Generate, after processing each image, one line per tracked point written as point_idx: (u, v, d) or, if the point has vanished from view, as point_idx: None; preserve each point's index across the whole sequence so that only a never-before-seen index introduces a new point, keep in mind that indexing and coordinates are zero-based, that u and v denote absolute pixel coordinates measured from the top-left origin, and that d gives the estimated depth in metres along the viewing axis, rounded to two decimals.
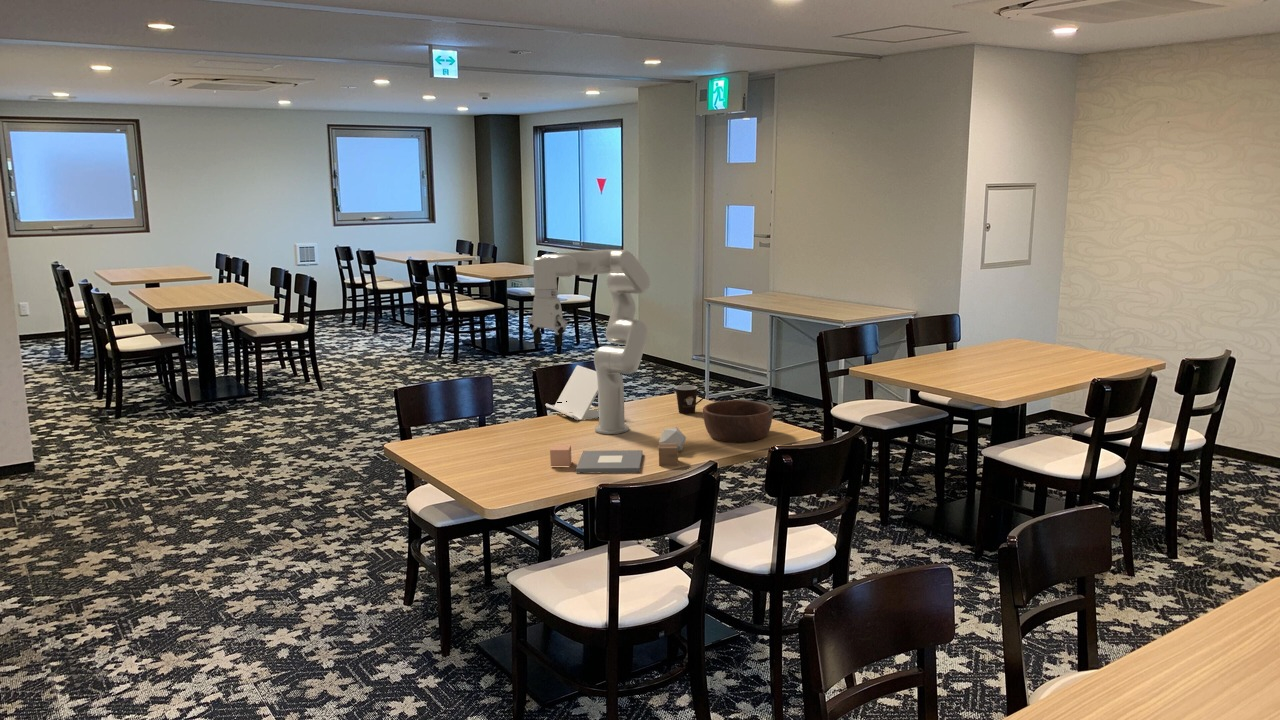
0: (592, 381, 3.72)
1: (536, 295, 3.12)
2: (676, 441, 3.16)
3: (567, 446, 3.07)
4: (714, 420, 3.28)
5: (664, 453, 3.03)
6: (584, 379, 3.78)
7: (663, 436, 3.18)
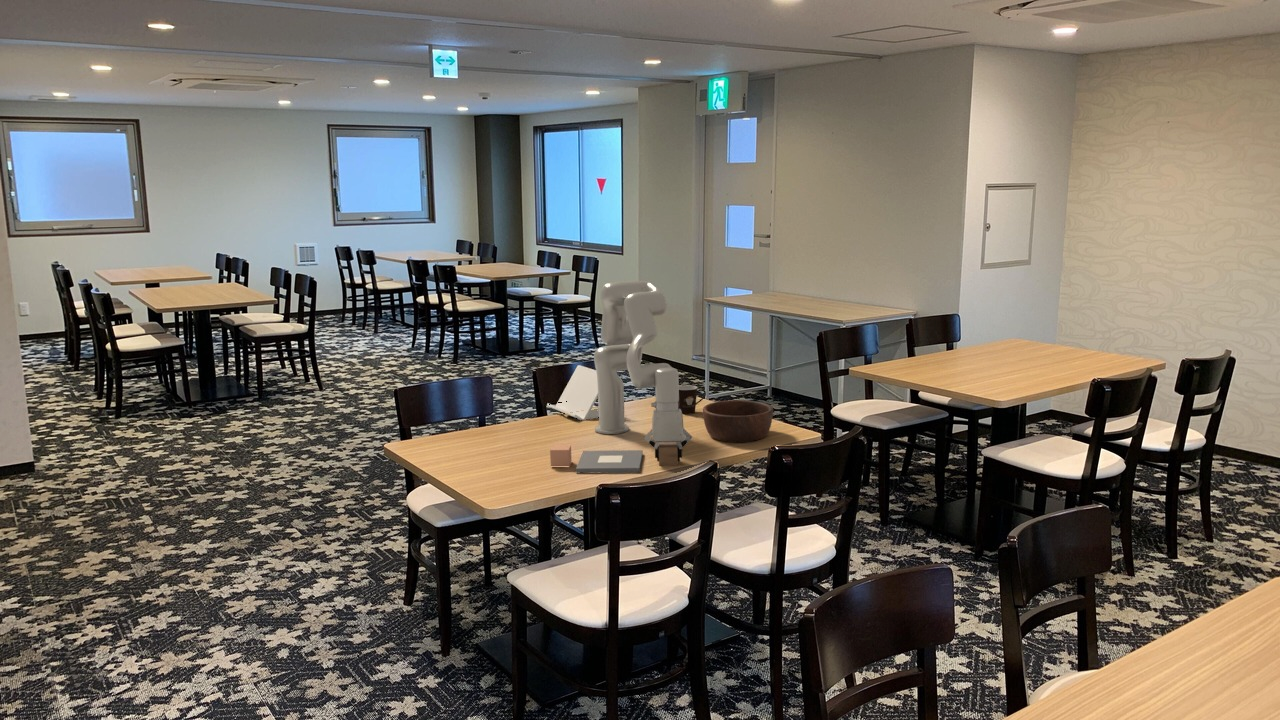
0: (594, 381, 3.73)
1: None
2: None
3: (567, 446, 3.07)
4: (714, 420, 3.28)
5: (664, 453, 3.03)
6: (586, 379, 3.78)
7: None
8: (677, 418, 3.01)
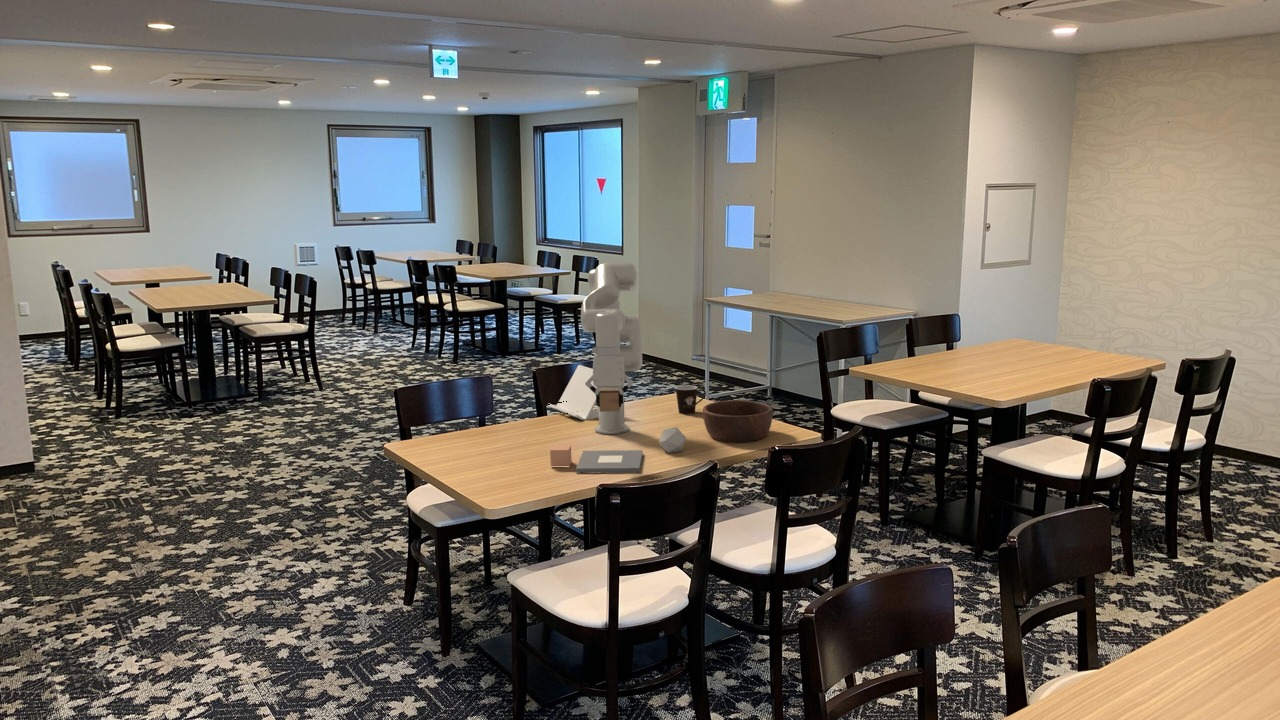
0: None
1: None
2: (676, 441, 3.16)
3: (567, 446, 3.07)
4: (714, 420, 3.28)
5: (605, 399, 3.01)
6: (587, 379, 3.78)
7: (663, 436, 3.18)
8: (618, 363, 2.99)
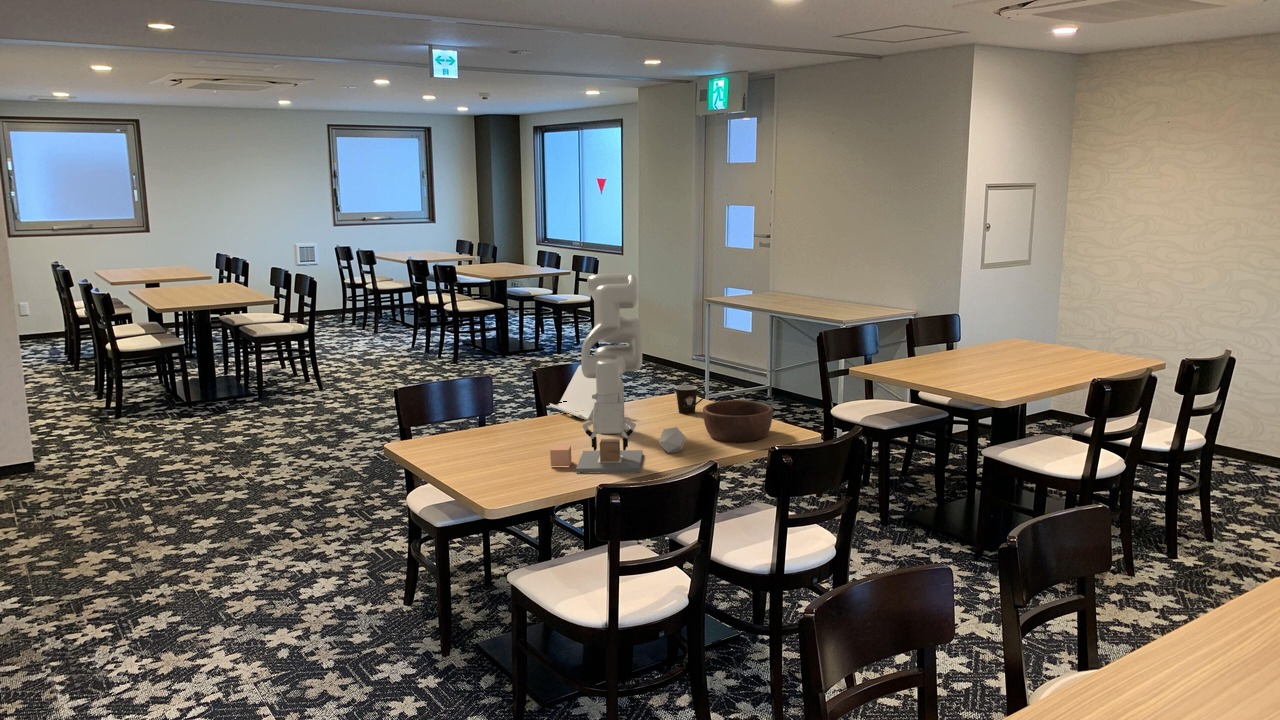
0: None
1: None
2: (676, 441, 3.16)
3: (567, 446, 3.07)
4: (714, 420, 3.28)
5: (605, 449, 3.04)
6: (588, 378, 3.79)
7: (663, 436, 3.18)
8: (617, 410, 3.02)
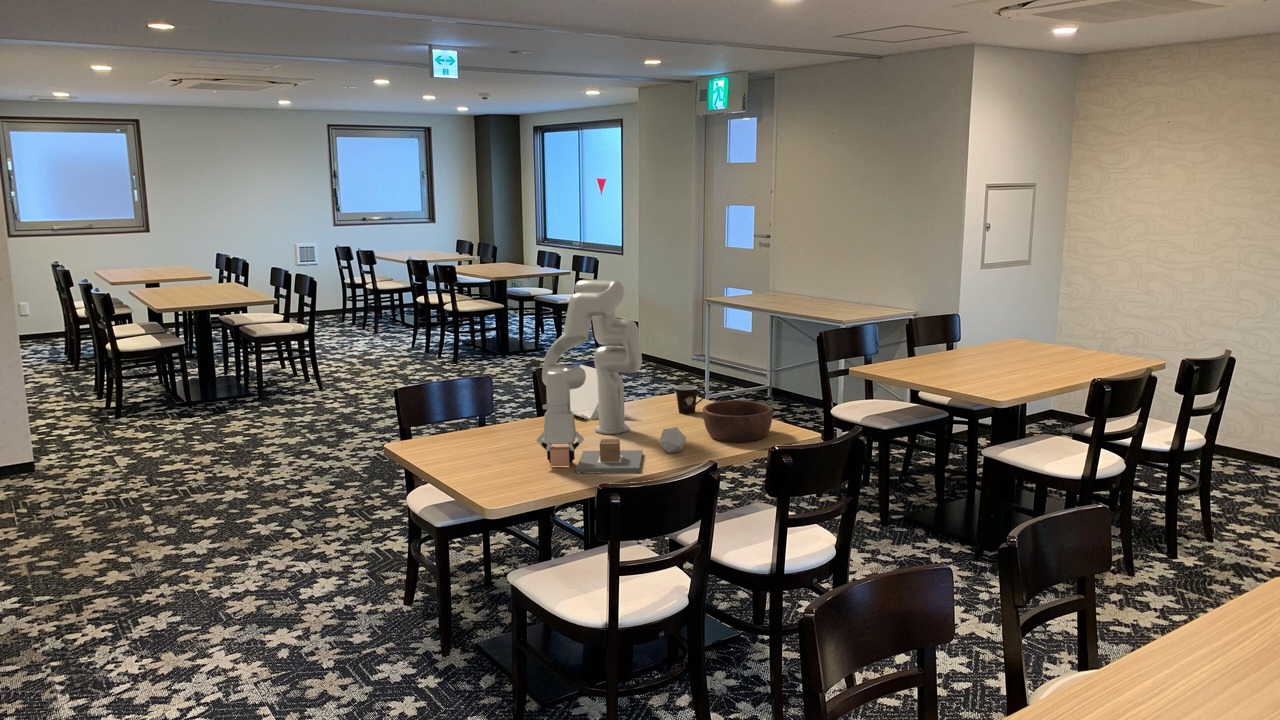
0: None
1: None
2: (676, 441, 3.16)
3: (567, 446, 3.07)
4: (714, 420, 3.28)
5: (605, 449, 3.04)
6: (590, 378, 3.79)
7: (663, 436, 3.18)
8: (568, 420, 3.02)
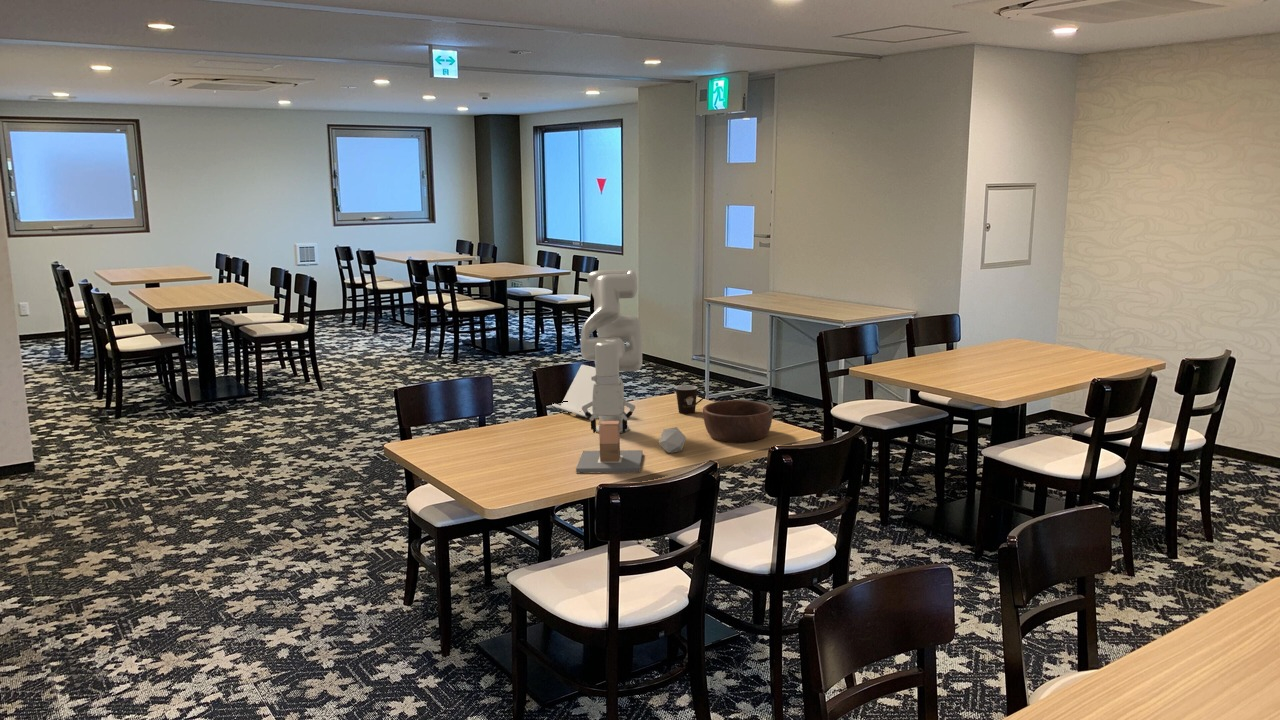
0: None
1: None
2: (676, 441, 3.16)
3: (616, 422, 3.06)
4: (714, 420, 3.28)
5: (605, 449, 3.04)
6: None
7: (663, 436, 3.18)
8: (617, 392, 3.01)
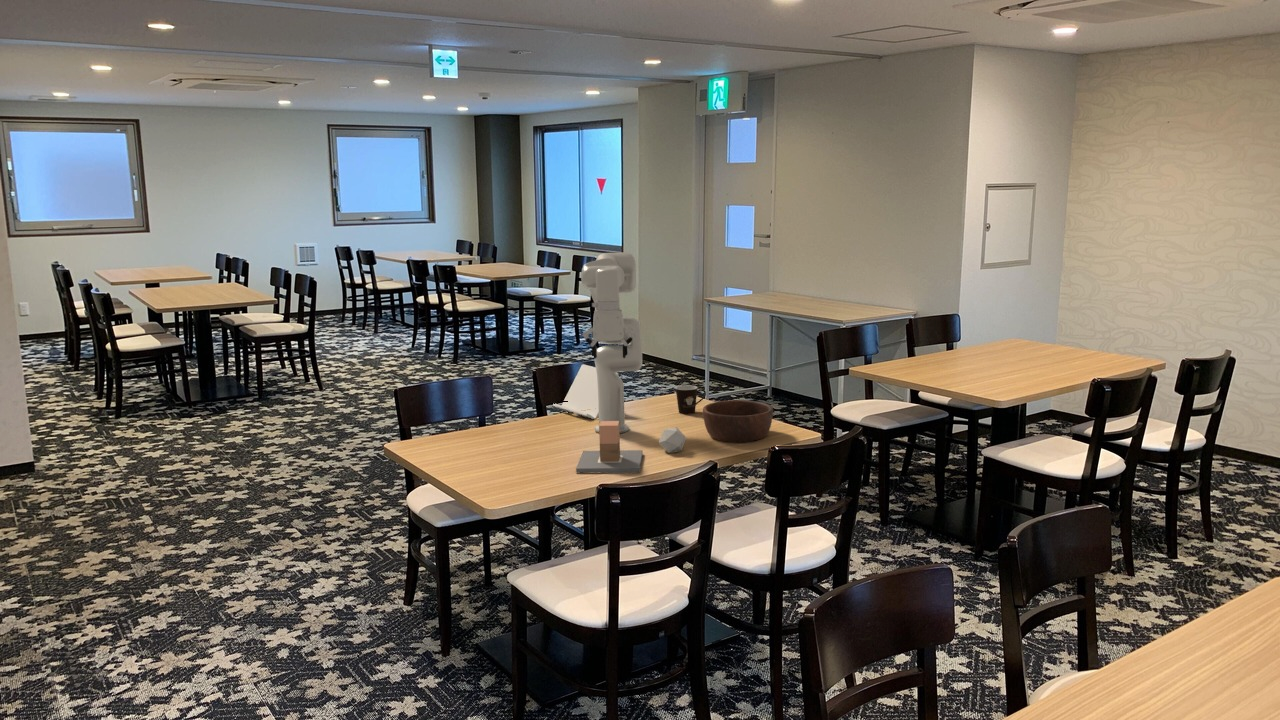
0: None
1: None
2: (676, 441, 3.16)
3: (616, 422, 3.06)
4: (714, 420, 3.28)
5: (605, 449, 3.04)
6: (593, 378, 3.80)
7: (663, 436, 3.18)
8: (617, 317, 3.06)
